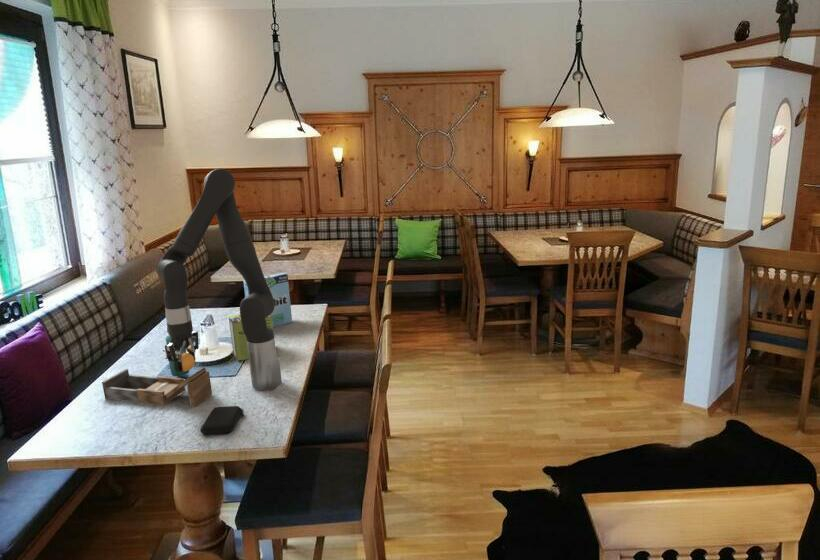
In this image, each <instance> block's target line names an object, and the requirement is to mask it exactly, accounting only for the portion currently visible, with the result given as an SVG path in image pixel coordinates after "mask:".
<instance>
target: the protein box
mask: <svg viewBox="0 0 820 560" xmlns="http://www.w3.org/2000/svg"><path fill="white" fill-rule="evenodd" d="M228 323H229V329H230V338H231V339H230V340H231V346H232V347H231V348H232V353H233V352H234V353H233V355H234V357H235V359H236V361H237V362H240V361H239V360H241V361H245V360H249V355H248V347H247V339H246V336H245V334H244V332H243V328H242V322H241V317H240V314H236V315H232V316H228ZM266 324H267V327H270V328H272V329H273V331H274V332H275V330H274V327H273V320H272V316H271V315H269V316H267V317H266ZM275 348H277V347H276V346H275Z"/></svg>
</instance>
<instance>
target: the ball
mask: <svg viewBox="0 0 820 560" xmlns="http://www.w3.org/2000/svg"><path fill="white" fill-rule="evenodd" d="M177 358H178V357H177ZM195 359H196V358H195ZM195 359H194V357H193V356H192V355H191V354H189V352H186V353H183V354H182V356H181V361H182V368H183V371H188V370H189V371H190V370H192V368H193V367H194V366H195V364H196V360H195Z"/></svg>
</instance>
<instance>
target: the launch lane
mask: <svg viewBox="0 0 820 560" xmlns="http://www.w3.org/2000/svg"><path fill="white" fill-rule="evenodd" d="M210 376H211V375H210V371H209V370H207V368H206V367H203V368H201V369H199V370H198V371H196V372H195V373H193V374H192V375H190V376H189V377H187V378H186V379H184V377H175V376H162V375H159V376H149V375H138V374H137V375H136V374H129V369H128V368H127V369H126V368H125V369H123V370H121V371H120V372H118V373H116V374H114V375H113V376H111V377H109V378H106V379H105V380H103V381H102V382H101V384H102V390H103V394H104V398H105V399H109V400H117V401H126V402H134V403H135V402H136V403H143V404H144V403H145V404H151V405H153V404H155V405H162V406H165V405H166V404H168V403H169V402H171V401H172V400H174V399H175V398H177V397H179V396H180V395H181V394H182V393H184V392H185V391H186V386H187V393H188V397H189V403H190V404H189V405H190V407H194V408H196V407H198V406H199V405H201V404H202V403H203V402H204V401H206V400H207V399H208V398H210V397H211V396H213V390H212V389H213V388H212V382H211V377H210Z"/></svg>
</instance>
